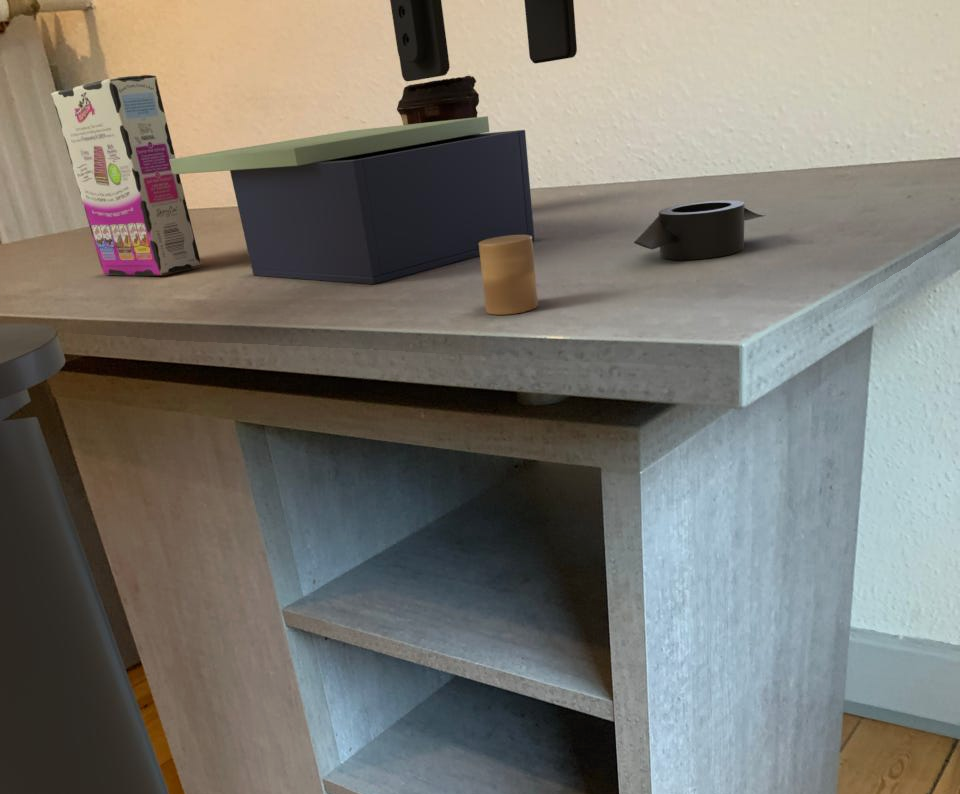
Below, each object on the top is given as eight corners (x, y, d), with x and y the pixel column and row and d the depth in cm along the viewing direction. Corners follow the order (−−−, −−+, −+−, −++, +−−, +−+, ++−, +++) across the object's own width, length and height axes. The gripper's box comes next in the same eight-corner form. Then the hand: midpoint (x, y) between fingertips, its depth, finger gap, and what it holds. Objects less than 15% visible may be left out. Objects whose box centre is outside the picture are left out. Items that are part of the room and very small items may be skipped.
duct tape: (787, 251, 65) (788, 204, 64) (637, 269, 66) (635, 223, 65) (760, 235, 72) (761, 192, 71) (624, 252, 73) (622, 210, 71)
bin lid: (297, 165, 73) (294, 148, 72) (172, 174, 86) (168, 159, 86) (489, 131, 84) (488, 116, 83) (352, 144, 97) (350, 130, 97)
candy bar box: (205, 266, 95) (158, 73, 87) (162, 277, 92) (108, 77, 84) (144, 265, 102) (94, 86, 94) (101, 275, 99) (46, 90, 91)
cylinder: (511, 316, 58) (504, 245, 56) (475, 313, 60) (467, 244, 58) (548, 304, 60) (542, 234, 58) (512, 301, 62) (505, 234, 60)
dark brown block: (511, 213, 103) (497, 71, 96) (458, 227, 98) (439, 79, 91) (451, 215, 108) (434, 80, 102) (397, 228, 103) (376, 88, 97)
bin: (373, 284, 74) (353, 160, 70) (253, 275, 86) (229, 169, 82) (535, 240, 84) (525, 129, 80) (406, 238, 96) (392, 141, 91)
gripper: (520, -305, 53) (551, 62, 61) (245, -347, 43) (326, 93, 51) (629, -363, 47) (646, 46, 56) (344, -425, 38) (416, 78, 46)
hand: (493, 68), depth 54 cm, fingers open, 9 cm apart
